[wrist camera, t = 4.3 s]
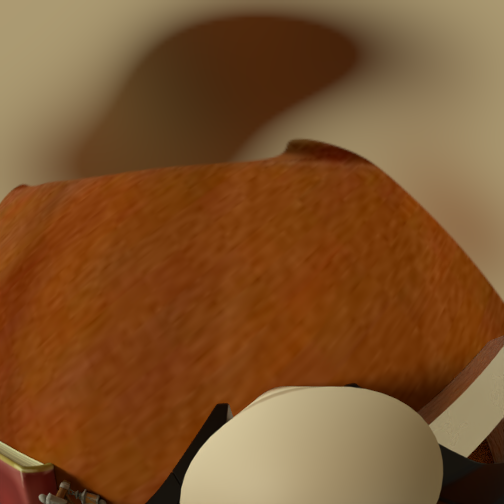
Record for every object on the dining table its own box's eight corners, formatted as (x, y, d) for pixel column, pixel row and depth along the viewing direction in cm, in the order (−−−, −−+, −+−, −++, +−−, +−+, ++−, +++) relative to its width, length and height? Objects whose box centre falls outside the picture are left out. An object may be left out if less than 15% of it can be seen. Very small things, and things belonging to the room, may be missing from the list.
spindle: (331, 429, 14) (467, 506, 2) (269, 461, 13) (257, 611, 1) (299, 374, 15) (378, 334, 4) (237, 405, 15) (134, 450, 3)
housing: (532, 459, 9) (553, 460, 6) (404, 575, 7) (418, 591, 4) (489, 341, 15) (514, 331, 12) (334, 468, 13) (346, 482, 10)
